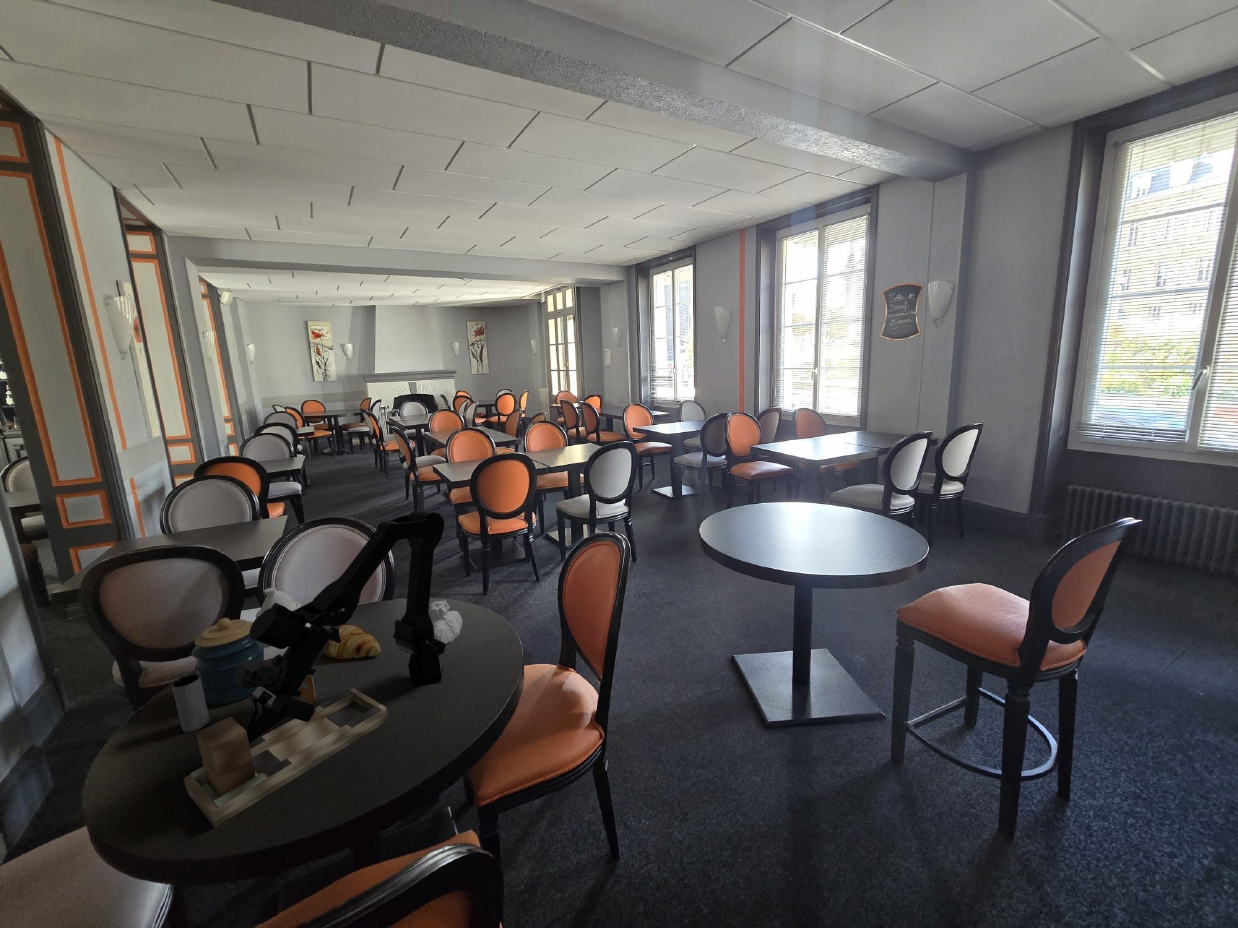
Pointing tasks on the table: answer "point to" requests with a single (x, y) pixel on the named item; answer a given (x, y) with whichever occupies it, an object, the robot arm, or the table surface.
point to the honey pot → (278, 598)
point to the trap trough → (291, 753)
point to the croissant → (352, 644)
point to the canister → (225, 659)
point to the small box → (308, 684)
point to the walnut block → (225, 756)
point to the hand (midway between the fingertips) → (244, 743)
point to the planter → (190, 702)
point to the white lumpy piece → (445, 622)
